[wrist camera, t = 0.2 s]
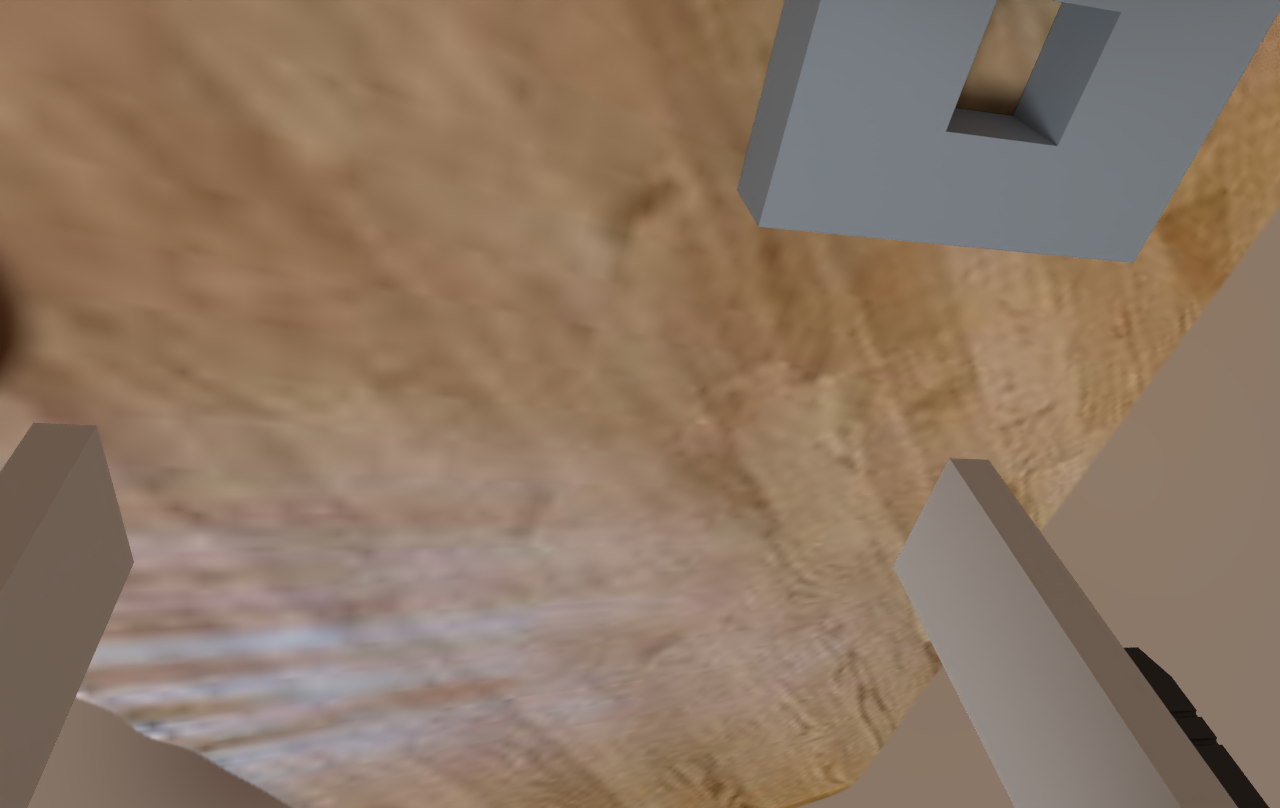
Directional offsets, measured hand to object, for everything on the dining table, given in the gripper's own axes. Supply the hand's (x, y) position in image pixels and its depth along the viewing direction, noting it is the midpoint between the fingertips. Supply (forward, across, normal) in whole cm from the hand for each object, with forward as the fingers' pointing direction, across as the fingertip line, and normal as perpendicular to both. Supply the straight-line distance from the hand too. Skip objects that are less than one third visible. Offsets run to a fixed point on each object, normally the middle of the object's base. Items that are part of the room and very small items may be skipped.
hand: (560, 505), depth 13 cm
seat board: (+28, +21, +3) cm, 35 cm away
